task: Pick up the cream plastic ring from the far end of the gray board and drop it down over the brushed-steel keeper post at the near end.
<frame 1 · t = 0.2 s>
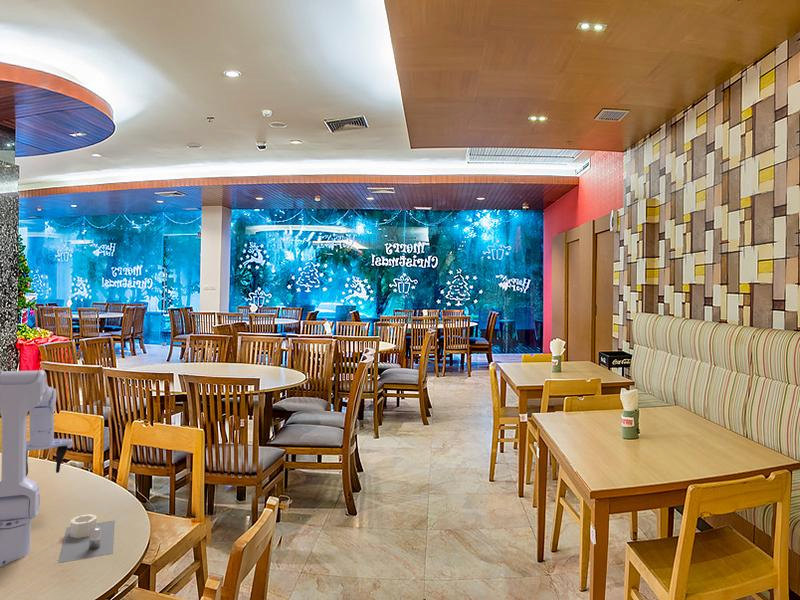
hand: (42, 472, 150), 10 cm above the table, tool pointing down, fingers open, 7 cm apart
gray board: (88, 544, 130), on the table
cream ring: (83, 532, 134), point 1 cm above the table, touching gray board
steel keeper post: (94, 547, 126), resting on gray board
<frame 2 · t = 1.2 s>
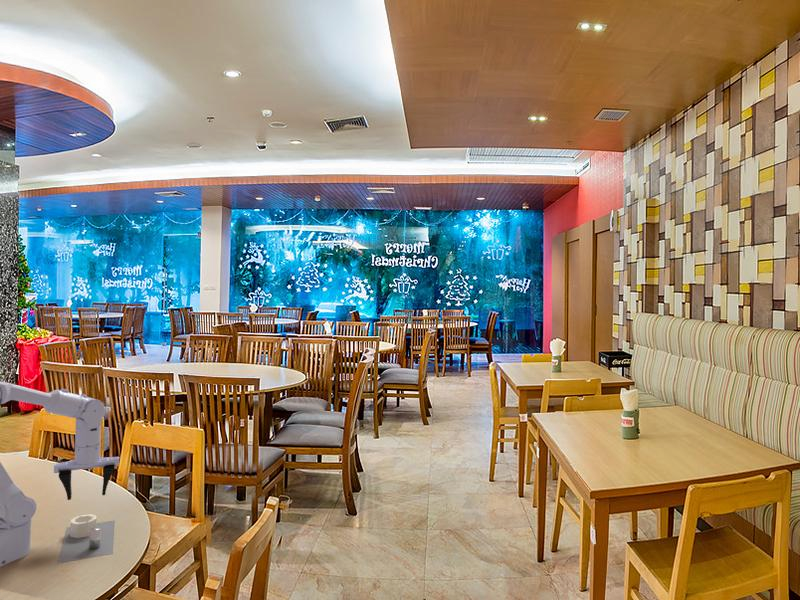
hand: (86, 496, 136), 10 cm above the table, tool pointing down, fingers open, 7 cm apart
nothing on the table moved.
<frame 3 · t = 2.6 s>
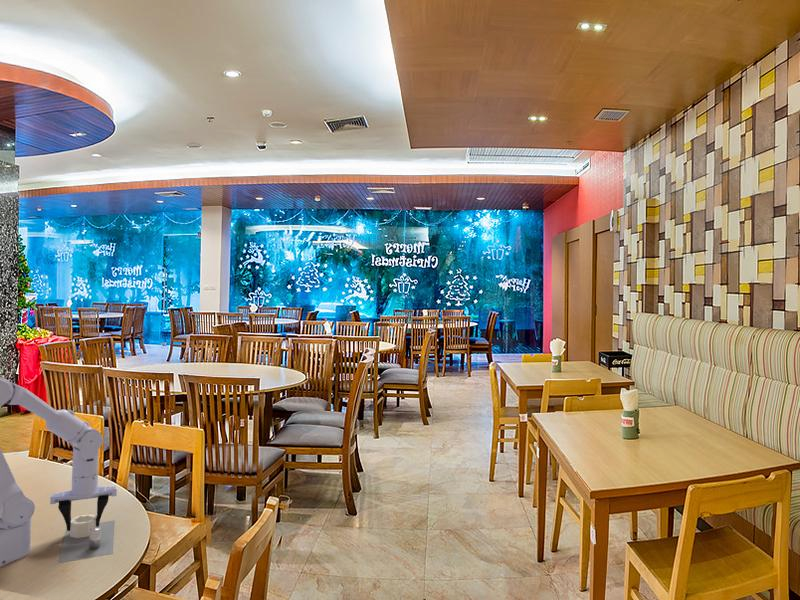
hand: (83, 527, 134), 3 cm above the table, tool pointing down, fingers closed on cream ring, 6 cm apart
cream ring: (83, 532, 134), point 1 cm above the table, touching gray board, gripper
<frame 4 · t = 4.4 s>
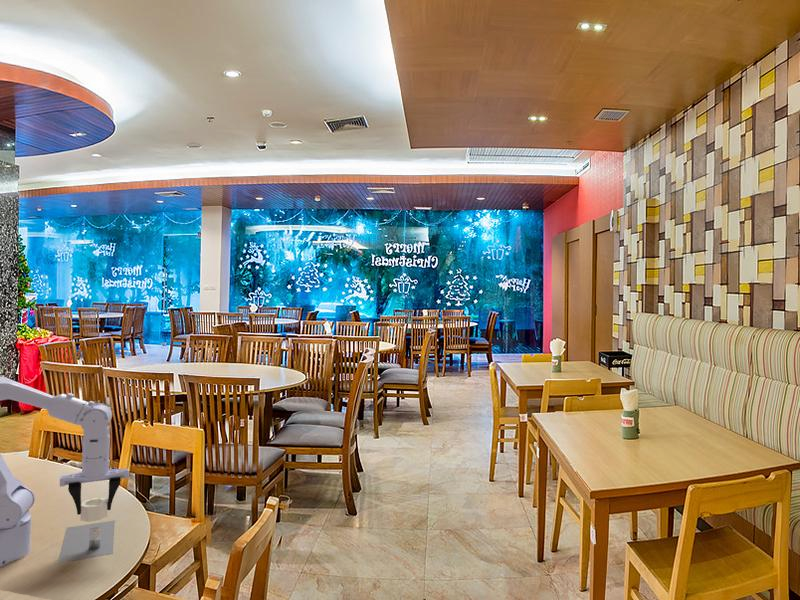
hand: (94, 510, 127), 10 cm above the table, tool pointing down, fingers closed on cream ring, 6 cm apart
cream ring: (94, 516, 127), point 8 cm above the table, touching gripper
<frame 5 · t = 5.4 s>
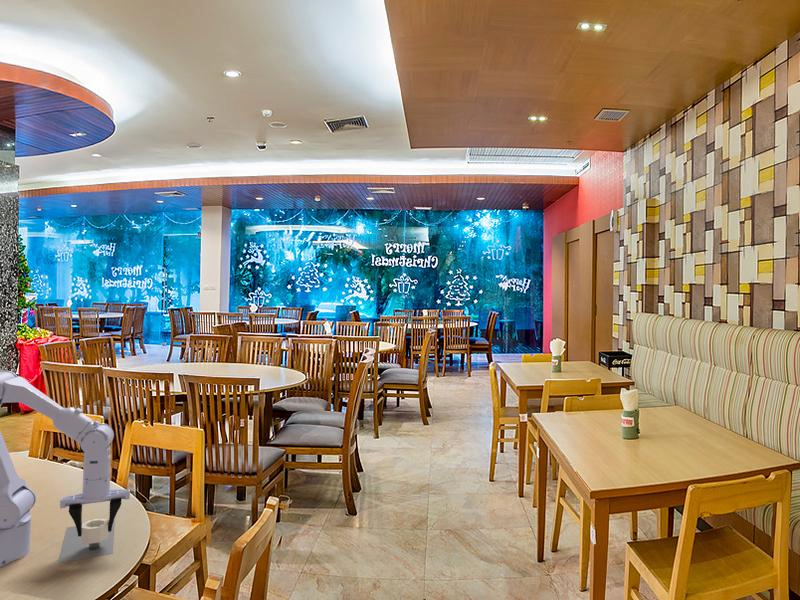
hand: (95, 532, 126), 5 cm above the table, tool pointing down, fingers closed on cream ring, 6 cm apart
cream ring: (94, 538, 126), point 3 cm above the table, touching gripper
when the fingers open (4 cm above the table, at t = 6.1 s): cream ring drops 2 cm, resting on gray board.
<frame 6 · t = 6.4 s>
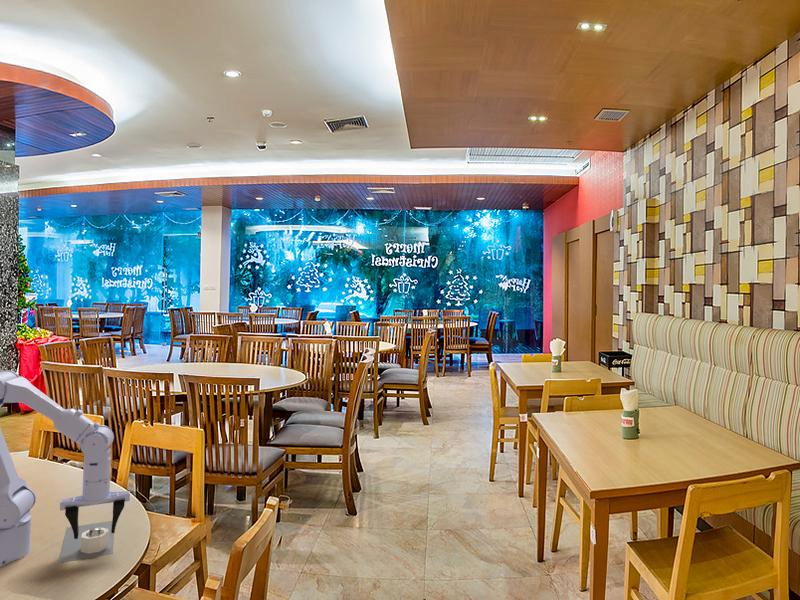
hand: (94, 534, 126), 4 cm above the table, tool pointing down, fingers open, 7 cm apart
cream ring: (94, 547, 126), point 1 cm above the table, touching gray board
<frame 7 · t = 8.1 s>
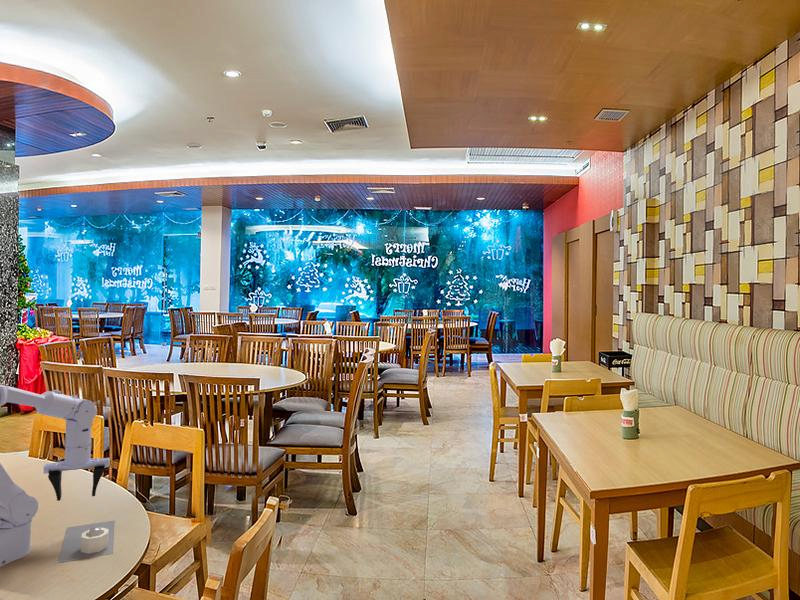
hand: (76, 497, 136), 9 cm above the table, tool pointing down, fingers open, 7 cm apart
nothing on the table moved.
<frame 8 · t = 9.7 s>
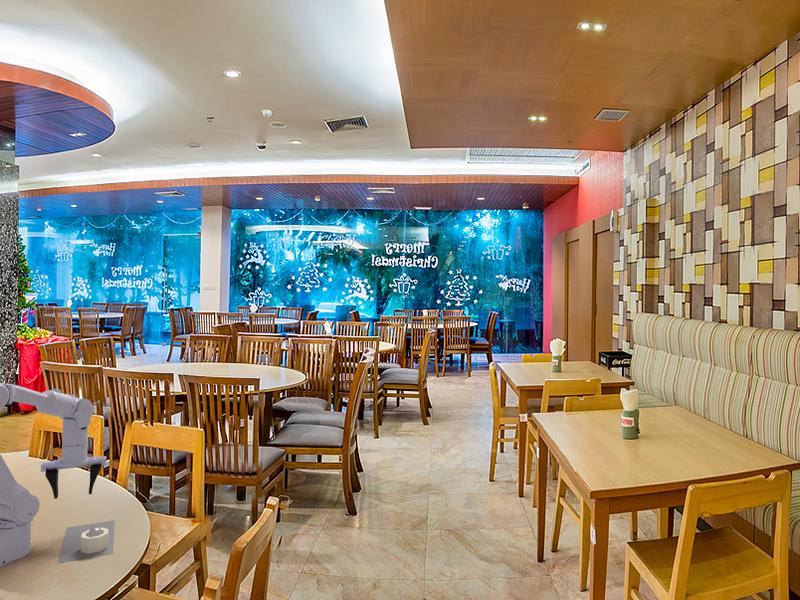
hand: (73, 495, 137), 9 cm above the table, tool pointing down, fingers open, 7 cm apart
nothing on the table moved.
at the end: cream ring 0.0 cm from the steel keeper post (horizontally); cream ring point 1.2 cm above the table; the gripper is holding nothing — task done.
